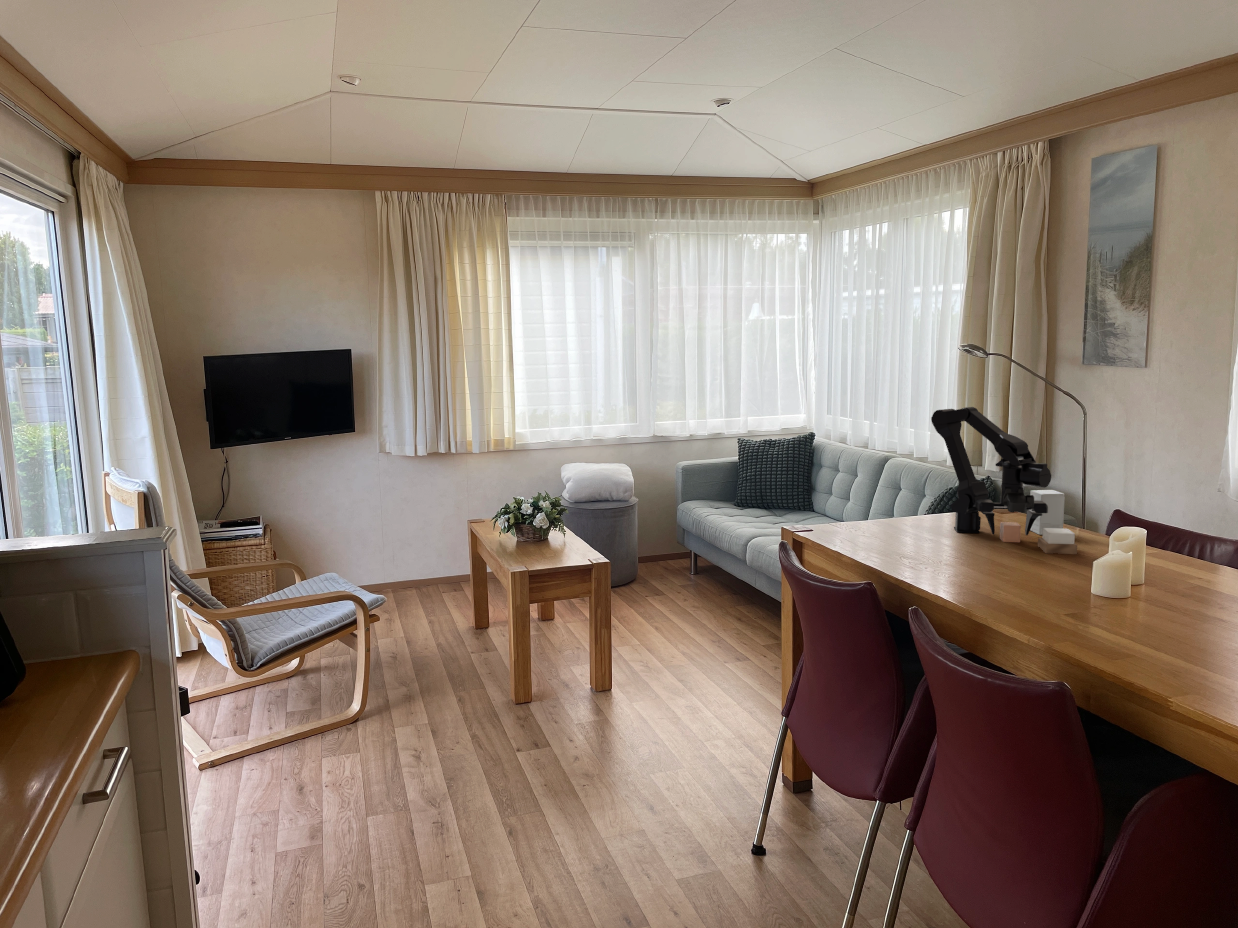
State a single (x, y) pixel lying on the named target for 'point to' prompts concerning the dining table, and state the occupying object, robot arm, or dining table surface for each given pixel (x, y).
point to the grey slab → (1058, 536)
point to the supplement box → (1049, 510)
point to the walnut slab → (1057, 547)
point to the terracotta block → (1010, 531)
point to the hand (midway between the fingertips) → (1009, 534)
